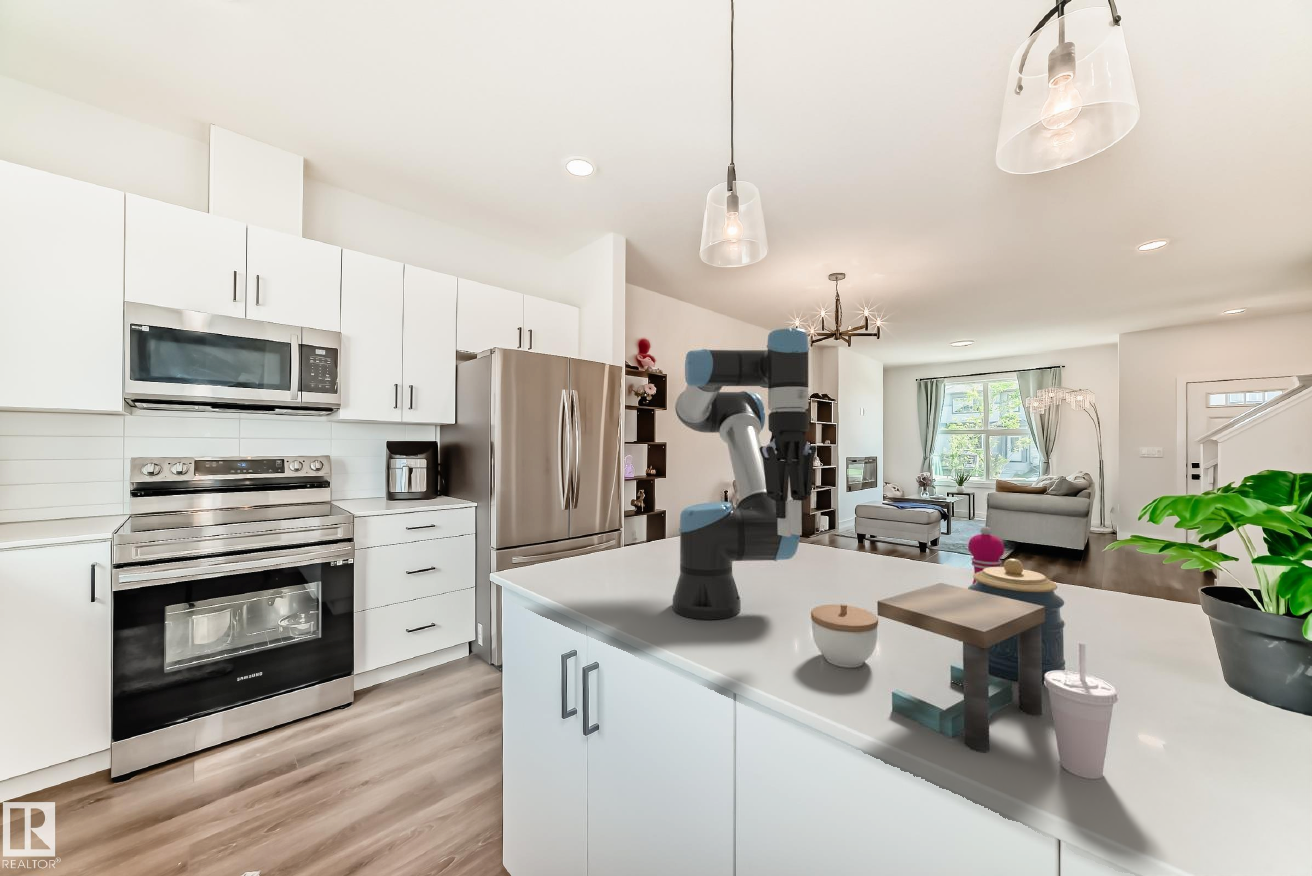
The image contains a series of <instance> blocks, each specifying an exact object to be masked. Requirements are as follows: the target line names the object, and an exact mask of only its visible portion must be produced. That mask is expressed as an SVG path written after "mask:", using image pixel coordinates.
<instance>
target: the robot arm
mask: <svg viewBox="0 0 1312 876" xmlns="http://www.w3.org/2000/svg"><path fill="white" fill-rule="evenodd" d="M808 337H809V335H808V333H807V332H806V331H805V330H804V329H801V328H796V327H794V328H793V327H791V328H790V327H787V328H778V329H775V330H772V331H770V333H768V336H767V344H766V348H767V349H765V350H764V349H762V350H761V349H747V350H746V349H745V350H744V349H743V350H742V349H739V350H738V349H736V350H735V349H734V350H733V349H729V350H728V349H706V348H705V349H703V348H702V349H695V350H689V351H688V352H687V353H686V356H685V362H684V363H685V364H684V377H685V382H686V386H685V389H684V390H683V391H682V392H681V393H680V394H679V395H678V397H677V399H676V401H675V405H674V406H675V413H676V416H677V418H678V420H679V421H680V422H681V423H682V424H683V425H684V426H685V427H687V428H689V429H691V430H693V431H695V432H699V433H705V434H707V433H708V434H711V433H713V434H714V433H715V434H717V433H718V434H719V437H720V438H721V440H722V441H723V442H725V443H726V445H727V448H728V452H729V457H730V461H731V467H732V471H733V476H734V481H735V485H736V489H737V494H738V499H739V501H737V504H736V505H735V508H733V505H732V503H731V502H729V501H712V502H711V501H709V502H704V503H699V504H694V505H689V506H687V507H686V508H684V509H682V511H681V513H680V515H679V527H678V532H679V554H680V555H679V576H678V579H677V582H676V586H675V590H674V594H673V596H672V610H673V611H674V612H675V613H676V612H677V614H678V615H680V616H681V617H682V616H683V617H686V618H690V619H695V620H697V619H698V620H721V619H727V618H731V617H735V616H736V615H738V614H739V613H740V612H741V609H742V608H741V597H740V595H739V592H738V588H737V585H736V582H735V579H734V576H733V562H751V561H754V562H755V561H756V562H757V561H761V562H763V561H773V562H777V561H783V560H784V561H785V560H786V561H787V560H790V559H792V558H794V556H795V555H796V553H797V551H798V549H799V544H800V536H802V531H803V529H802V527H803V526H802V525H803V524H802V523H803V522H802V521H803V520H802V519H803V518H802V517H803V514H804V501H807V500H808V498H809V497H810V496H811V495H812V488H813V487H812V486H813V485H812V484H813V473H814V460H815V456H816V452H817V450H818V449H817V448H818V447H817V446H816V445H811V444H809V443H808V440H807V436H806V432H808V431H809V429H810V413H809V412H808V411H806V410H808V409H809V407H810V406H809V387H810V385H809V382H810V381H809V351H810V347H809V338H808ZM723 387H760V388H765V389H767V407H768V408H767V410H770V411H771V412H769V413H768V415H767V416H768V422H767V423H768V431H769V432H771V435H770V440H769V443H768V444H767V445H765V446H764V445H763V446H762V443H761V440H760V434H761V431H762V430H763V429H764V427H765V424H766V423H765V422H766V412H765V406H764V402H763V400H762V398H761V396H760V395H759V394H758V393H756V392H753V391H752V392H750V391H745V390H743V391H742V390H741V391H721V389H722V388H723ZM789 488H790V490H789ZM789 491H790V499H789V498H788V496H789Z"/></svg>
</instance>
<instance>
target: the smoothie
mask: <svg viewBox="0 0 1312 876" xmlns="http://www.w3.org/2000/svg"><path fill="white" fill-rule="evenodd" d="M1078 663H1079V664H1078V666H1079V669H1078V670H1079V671H1078V672H1076V671H1072V670H1065V671H1063V670H1054V671H1049V672H1047V673H1046V674H1045V681H1044V683H1043V684H1044V686H1045V687H1046V688H1047V690H1048V696H1049V702H1050V708H1051V714H1052V721H1053V727H1054V732H1055V733H1054V734H1055V739H1056V740H1055V741H1056V745H1057V752H1058V758H1059V764H1060V766H1061V767H1063V768H1064V769H1065V770H1066V771H1068V772H1070V773H1072V774H1073V775H1075V776H1079V777H1081V778H1086V779H1091V780H1098V779H1101V778H1102V777H1103V773H1104V768H1105V767H1104V766H1105V760H1106V753H1107V746H1108V742H1109V741H1108V740H1109V733H1110V726H1111V721H1112V715H1113V714H1112V713H1113V709H1114V708H1113V707H1114V704H1116V703H1117V702H1118V696H1117V695H1118V693H1117V692H1118V691H1117V689H1116V688H1115V687H1114V686H1113V685H1112V684H1110V683H1108V682H1107V681H1105V680H1103V679H1101V678H1097V677H1096V676H1092V675H1089V674H1087V673H1086V672H1087V670H1086V665H1087V664H1086V663H1087V662H1086V643H1085V642H1082V641H1079V642H1078Z"/></svg>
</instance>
